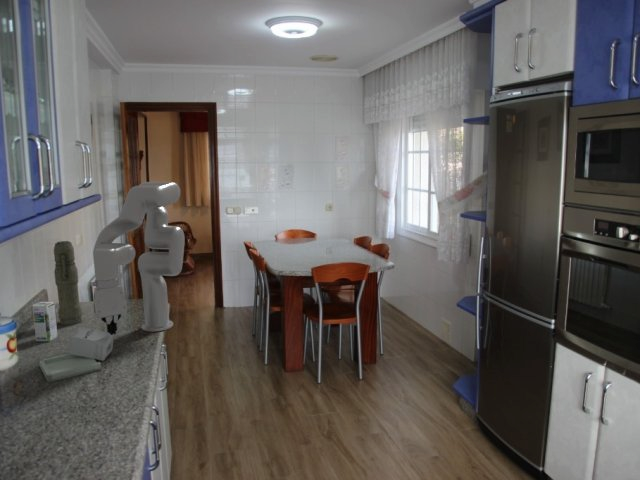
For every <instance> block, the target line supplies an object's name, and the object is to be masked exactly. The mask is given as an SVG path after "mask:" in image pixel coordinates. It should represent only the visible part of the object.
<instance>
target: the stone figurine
mask: <svg viewBox="0 0 640 480" xmlns="http://www.w3.org/2000/svg"><path fill="white" fill-rule="evenodd" d="M53 247H54V248H53V255H54V256H53V257H54V262H55V264H54V273H53V274H54V281H55V282H54V283H55V285H56V289H57V297H58V298H57V299H58V312H57V313H58V319H59V324H60V325H61V326H65V325H66V326H74V325H77V324H81V323H82V322H83V319H82V316H83V314H82V307H81V305H80V296H79V286H78V283H79V275H78V274H79V273H78V268H77V266H76V262H75V259H76V258H75V250H74V246H73V244H72V242H71V241H69V240H64V241H57V242H55V244H54V246H53ZM81 321H82V322H81Z"/></svg>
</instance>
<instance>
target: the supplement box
mask: <svg viewBox="0 0 640 480" xmlns="http://www.w3.org/2000/svg"><path fill="white" fill-rule="evenodd" d="M113 345H114V334H113V335H111V334H110V333H109V332H107V331H102V330H97V329H92V328H88V327H84V326H78V327H77V328H76V329H75V330H74V331H73V332H72V333H71V334H70V335H69V338H68V354H72V355H77V356H82V357H87V358H92V359H95V360H96V361H97V360H98V361H105V359H106V358H107V357H108V356H109V355H110V354H111V353H112V351H113Z"/></svg>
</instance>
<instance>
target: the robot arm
mask: <svg viewBox="0 0 640 480" xmlns="http://www.w3.org/2000/svg"><path fill="white" fill-rule="evenodd" d="M180 197H181V188H180V186H179V185H178V184H177V183H176V182H174V181H146V182H142V183H139V185H135V186H132V187H131V188H130V189H129V191H128V192H127V195H126V198H125V200H124V202H123V205H122V208H121V209H120V212H119V215H118V217H116V218H115V219H114V220H112V221H111V222H110V223H109V224H107V225H106V226H105V227H103V229H102V230H101V231H100V233H99V234H98V236H97V239H96V241H95V244H94V246H93V250H92V255H93V256H92V259H93V268H94V277H95V279H94V281H92V282H91V283H90V284H91V287H94V290H93V313H94V317H93V319H94V320H95V321H99V322H101V321H102V322H104V323H105V324H106V332H109V333H110V334H111V335H113V336H114V335H116V334H117V331H118V324H117V323H118V321H119V320H120V319H121V317H124V316H126V315H127V314H128V313H127V312H128V311H127V310H128V306H127V301H126V295H125V291H124V286H123V285H122V284H120V277H119V266H124V265H128V264H130V263H132V262H133V261H134V260H135V259H136V258H135V257H136V249H135V248H134V246H133V245H131V244H129V243H125V242H123V243H122V242H121V243H119V242H114V241H115V240H116V239H118V238H119V237H120V236H122V235H125V234H128V233H129V232H133V231H134V230H137V229H140V227H142V224H143V222H144V219H145V216H146V223H145V231H144V244H145V246H146V247H147V248H149V249H154V250H156V249H157V250H168V251H167V252H166V251H165V252H164V251H148V252H144V253H142V254H141V255H140V256H139V258H138V260H137V267H138V271H139V273H140V277H141V278H140V279H141V286H142V288H141V289H142V298H143V310H144V311H143V314H144V323H142V324H141V330H142V331H144V332H154V333H155V332H163V331H166V330H169V329H171V328H172V327H174V321H172V320H171V319H170V318H169V317H170V316H169V301H168V286H167V282H166V280H165V278H164V277H163V276H166V277H175V276H178V275H179V274H180V273H181V272H182V270H183V262H184V254H185V244H186V243H185V242H186V241H185V240H186V239H185V233H184V231H183V229H182V228H181V227H179V226H176V225H169V213H168V211H167V209H166V207H168V206H170V205H173V204H175V203H177V202H178V201H179V199H180ZM110 317H111V318H110Z"/></svg>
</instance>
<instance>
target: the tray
mask: <svg viewBox="0 0 640 480" xmlns="http://www.w3.org/2000/svg"><path fill="white" fill-rule="evenodd" d="M38 364H39V368H40V370H41V372H42V374H43V376H44V377H45V379H46V381H47V383H49V384H50V383H53V382H58V381H60V380H65V379H69V378H72V377H76V376H77V377H78V376H81V375H85V374H89V373H93V372H96V371H101V370H102V364H101V362H100V361H99V362H97V360H96V359H92V358H87V357H82V356H77V355H72V354H69V353H65V354H61V355H57V356H53V357H47V358H42V359H39V360H38Z"/></svg>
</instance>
